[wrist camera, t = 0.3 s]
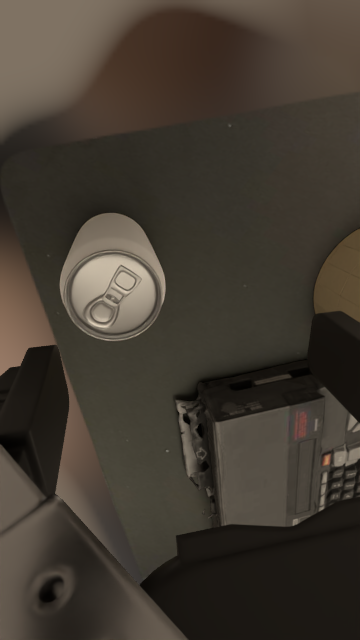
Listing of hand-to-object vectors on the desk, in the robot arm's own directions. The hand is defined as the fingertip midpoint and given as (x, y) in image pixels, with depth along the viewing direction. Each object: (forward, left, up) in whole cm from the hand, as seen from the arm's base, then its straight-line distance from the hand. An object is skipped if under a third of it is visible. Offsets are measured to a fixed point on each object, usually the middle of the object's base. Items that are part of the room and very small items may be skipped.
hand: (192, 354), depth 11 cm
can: (+2, -3, -22) cm, 22 cm away
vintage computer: (+37, +18, -22) cm, 46 cm away
